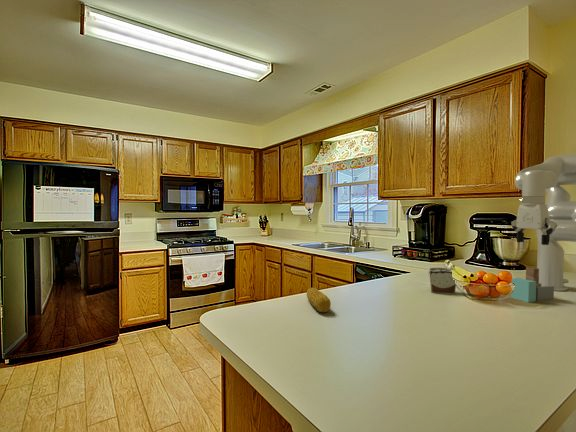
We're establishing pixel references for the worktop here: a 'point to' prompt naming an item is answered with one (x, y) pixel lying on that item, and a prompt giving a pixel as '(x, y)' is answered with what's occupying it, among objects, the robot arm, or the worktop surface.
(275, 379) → the worktop surface
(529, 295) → the teal rectangular block
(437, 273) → the food container
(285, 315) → the worktop surface
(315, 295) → the food
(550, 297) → the guide channel
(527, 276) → the rod
